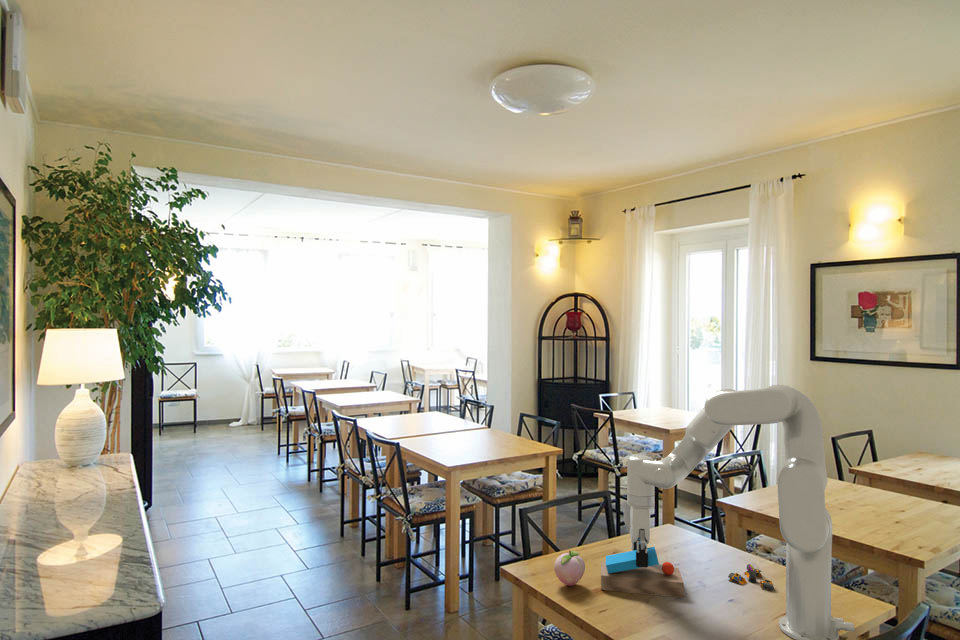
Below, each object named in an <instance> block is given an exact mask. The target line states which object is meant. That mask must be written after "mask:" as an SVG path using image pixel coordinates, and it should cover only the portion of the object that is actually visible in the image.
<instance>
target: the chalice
mask: <svg viewBox="0 0 960 640" xmlns="http://www.w3.org/2000/svg"><path fill="white" fill-rule="evenodd" d="M621 505H622V507H623V521H624V525H625V527H626V530H627V532H628V534H630V509H631V506H629V505H628V504H627V500H626V501H623V502H622V503H621ZM630 542H631V545H630V548H631V551H634V543H632V541H631V540H630Z"/></svg>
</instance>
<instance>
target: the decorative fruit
mask: <svg viewBox="0 0 960 640" xmlns="http://www.w3.org/2000/svg"><path fill="white" fill-rule="evenodd" d="M580 555H581V553H580V552H578V551H577V550H569V552H564V553H562V554H560V555H559V556H557V558H556V559H555V561H554V565H553V566H554V567H553V568H554V573H555V575H556V577H557V578H558V580H559V581H560V582H561V583H563V584H564V585H566V586H569V587H571V586H575V585H576V584H577V583H578V582H579V581H581V579H582V577H583V576H584V573H585V571H586V563H585V561H584V560H583V558H582V557H581V556H580Z"/></svg>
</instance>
